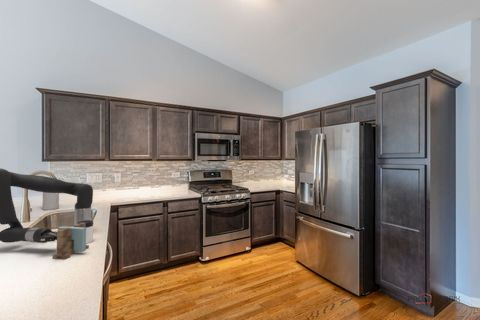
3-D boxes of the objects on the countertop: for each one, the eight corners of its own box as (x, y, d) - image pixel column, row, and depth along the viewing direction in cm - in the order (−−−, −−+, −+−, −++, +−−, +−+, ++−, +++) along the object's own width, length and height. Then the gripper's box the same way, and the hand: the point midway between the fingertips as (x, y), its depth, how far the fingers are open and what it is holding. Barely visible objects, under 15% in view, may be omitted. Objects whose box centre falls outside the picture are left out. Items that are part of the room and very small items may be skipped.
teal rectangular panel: (57, 250, 127) (57, 227, 127) (61, 248, 129) (61, 226, 129) (82, 252, 125) (82, 229, 125) (85, 250, 128) (86, 227, 128)
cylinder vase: (54, 210, 230) (55, 184, 230) (39, 210, 227) (40, 184, 227) (61, 207, 242) (61, 182, 242) (46, 207, 239) (47, 182, 239)
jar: (96, 239, 149) (96, 220, 149) (88, 244, 141) (88, 223, 141) (82, 239, 149) (82, 219, 149) (72, 243, 141) (73, 223, 141)
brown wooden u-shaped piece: (77, 247, 136) (77, 222, 136) (88, 247, 135) (89, 222, 135) (52, 258, 120) (52, 230, 120) (65, 259, 119) (65, 231, 119)
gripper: (26, 231, 122) (57, 233, 121) (50, 224, 136) (78, 226, 135) (25, 246, 122) (57, 248, 121) (50, 238, 136) (78, 239, 135)
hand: (68, 236), depth 128 cm, fingers closed on teal rectangular panel, 2 cm apart
